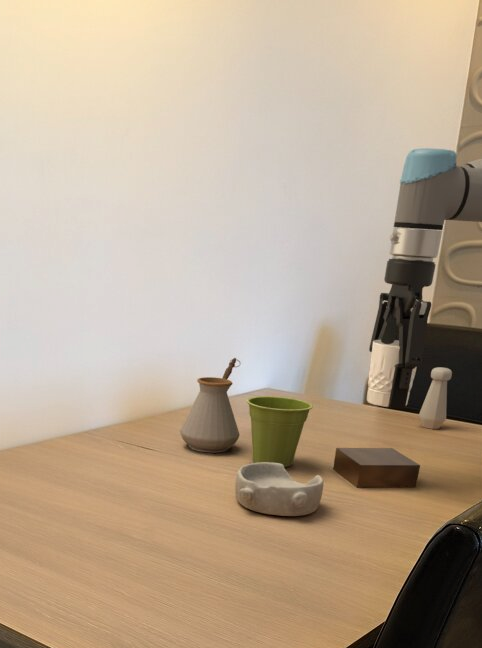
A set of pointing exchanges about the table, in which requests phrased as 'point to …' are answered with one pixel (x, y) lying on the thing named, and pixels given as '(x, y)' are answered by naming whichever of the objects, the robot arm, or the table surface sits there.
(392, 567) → the table surface
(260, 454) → the plant pot
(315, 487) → the dish
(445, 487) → the table surface
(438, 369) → the salt shaker
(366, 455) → the riser
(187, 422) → the coffee pot
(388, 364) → the white cup
